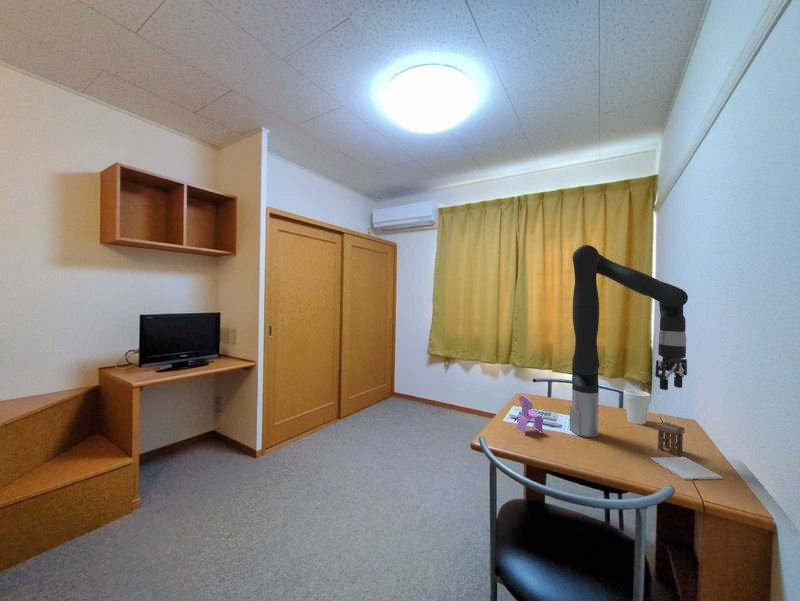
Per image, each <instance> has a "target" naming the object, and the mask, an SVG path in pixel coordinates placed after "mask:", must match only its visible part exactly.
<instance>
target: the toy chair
mask: <svg viewBox="0 0 800 601" xmlns="http://www.w3.org/2000/svg"><path fill="white" fill-rule="evenodd" d="M518 399H519V400H518V401H519V402H520V406H521V410H520V411H518V414H517V425H516V427H515V429H516V428H517V429H519V430H520V431H521V432H523V433H524V434H525V435H526V427H527V424H528V422H529V421H530V420H534V421H533V425H532V427H535V428H536V429H538V430H539V431H541V432H543V424H544V418H543V415H542V414H540V413H538V412H536V411H534V410H533V405H534V404H533V402H532V401H531V399H530V398H529V397H528V396H525V395H523V394H520V395H519V397H518ZM543 433H544V432H543Z"/></svg>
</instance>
